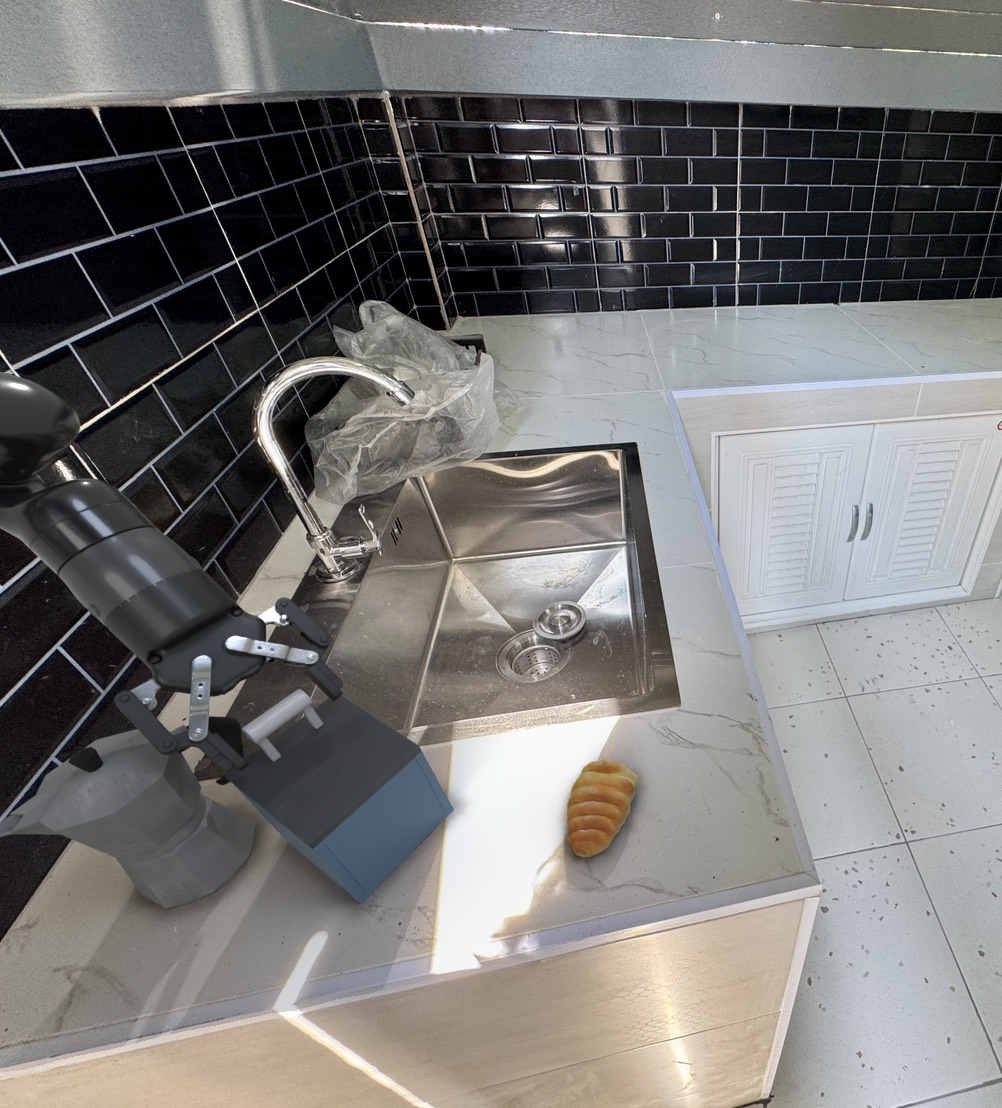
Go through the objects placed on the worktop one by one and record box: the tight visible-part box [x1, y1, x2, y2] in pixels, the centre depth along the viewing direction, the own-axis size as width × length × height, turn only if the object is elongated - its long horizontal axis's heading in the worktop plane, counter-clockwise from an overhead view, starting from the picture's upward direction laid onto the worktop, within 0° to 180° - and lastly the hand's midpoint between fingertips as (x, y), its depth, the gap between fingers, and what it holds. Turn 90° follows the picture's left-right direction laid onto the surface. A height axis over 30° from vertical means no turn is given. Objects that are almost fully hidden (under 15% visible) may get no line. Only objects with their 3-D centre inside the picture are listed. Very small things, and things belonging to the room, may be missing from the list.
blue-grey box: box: [233, 750, 455, 905], centre depth 58 cm, size 12×11×11 cm
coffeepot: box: [0, 715, 256, 910], centre depth 54 cm, size 15×9×18 cm, turn 136°
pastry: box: [566, 759, 639, 858], centre depth 62 cm, size 9×7×4 cm
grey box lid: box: [223, 688, 423, 849], centre depth 53 cm, size 12×11×6 cm
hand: (293, 731), depth 54 cm, fingers open, 8 cm apart
